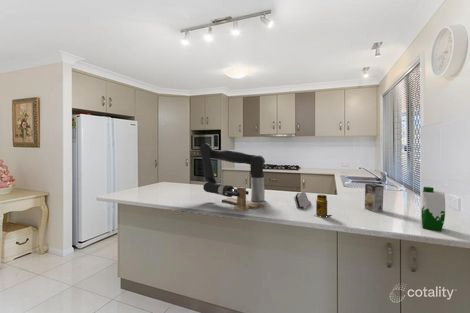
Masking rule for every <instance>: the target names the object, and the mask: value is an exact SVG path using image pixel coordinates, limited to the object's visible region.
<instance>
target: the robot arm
mask: <svg viewBox="0 0 470 313" xmlns="http://www.w3.org/2000/svg"><path fill="white" fill-rule="evenodd" d="M199 152H200V156H201V161H202V166H203V173H204V174H203V175H204V180H205V181H206V182H205V183H204V184H203V188H202V189H203V191H204V192H206V193H211V194H216V195H219V196H223V197H227V198H233V197H236V198H237V197H239V196H240V194H239V193H237V188H235V187H234V185H233V186H232V185H228V184H219V183H217V181H216V179H215V173H214V168H213V164H212V161H211V160H212V159H213V160H219V161H223V162H224V161H225V162H229V163H232V164H233V163H234V164H246V165H249V166H250V167H249V168H250V171H249V172H250V176H251V177H250V178H251V180H250V183H251V187H250V189H251V192H250V193H251V194H250V200H251V202H256V203H259V202H264V201H265V177H264V176H265V174H264V165H265V163H266V160H265V158H264V157H263V156H262V155H260V154H249V153H244V152H241V151H237V150H232V149H222V150H218V149H214V148H212V147H211V145H210V144H209V143H208V142H207V143H202V144H201V145H200V147H199ZM248 195H249V190H246V196H248Z"/></svg>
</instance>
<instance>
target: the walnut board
mask: <svg viewBox="0 0 470 313" xmlns="http://www.w3.org/2000/svg"><path fill="white" fill-rule="evenodd" d="M221 202H222V203H226V204H231V205H234V206H236V205H237V197H227V198H223V199H221ZM246 206H249V209H252V210H256V209H259V208H262V207H264V203H259V202H257V201H252V200H251V201H250V200H246Z"/></svg>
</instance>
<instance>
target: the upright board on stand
mask: <svg viewBox="0 0 470 313" xmlns="http://www.w3.org/2000/svg"><path fill="white" fill-rule="evenodd" d="M236 189H237V193H239V194H240V196H239V197H237V196H236V198H237V205H234V207H233V209H234V210H236V211H240V212H241V211H242V212H243V211H247V210H249V209H250V208H249V206H246V201H247V195H246V191H247V188H246V187H244V186H238V187H236Z"/></svg>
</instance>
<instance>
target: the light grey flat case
mask: <svg viewBox="0 0 470 313" xmlns="http://www.w3.org/2000/svg"><path fill="white" fill-rule="evenodd" d="M293 199H294V203H295V207H296V208H297V209H299V208H303V209H304V208H305V207H306V208H308V207H309V206H310V205H311V204H312V203H311V202H312V201H311V200H310V199H309V197H308V195H307V193H306V192H304V191H300V192H298V193H295V195H294V197H293ZM309 204H310V205H309ZM308 205H309V206H308ZM307 206H308V207H307ZM306 208H305V209H306Z"/></svg>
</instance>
